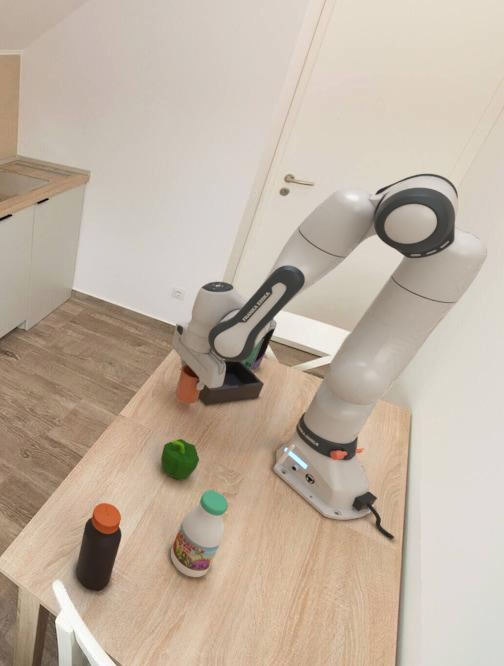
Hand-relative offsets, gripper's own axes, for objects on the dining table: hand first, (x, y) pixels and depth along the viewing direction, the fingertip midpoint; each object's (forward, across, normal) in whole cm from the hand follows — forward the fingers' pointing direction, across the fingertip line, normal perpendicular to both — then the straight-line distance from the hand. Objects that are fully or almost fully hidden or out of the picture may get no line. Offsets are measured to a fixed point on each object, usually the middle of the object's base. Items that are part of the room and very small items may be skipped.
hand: (191, 379), depth 133 cm
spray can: (+10, +14, -32) cm, 36 cm away
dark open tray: (+10, +6, -16) cm, 19 cm away
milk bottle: (+10, -43, +23) cm, 50 cm away
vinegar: (+10, -42, +44) cm, 62 cm away
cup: (+6, 0, 0) cm, 6 cm away
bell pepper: (+10, -21, +14) cm, 28 cm away
